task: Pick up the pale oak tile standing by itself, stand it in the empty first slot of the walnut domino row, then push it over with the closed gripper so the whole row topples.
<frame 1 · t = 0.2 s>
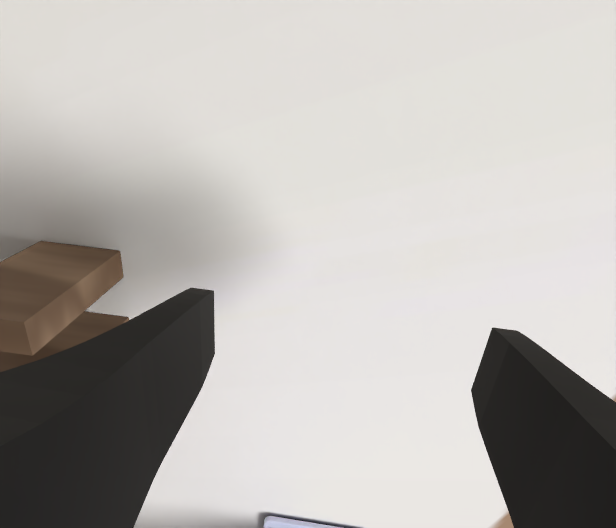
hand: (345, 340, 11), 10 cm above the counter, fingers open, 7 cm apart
tile 4: (93, 323, 24), on the counter
tile 5: (82, 259, 22), on the counter
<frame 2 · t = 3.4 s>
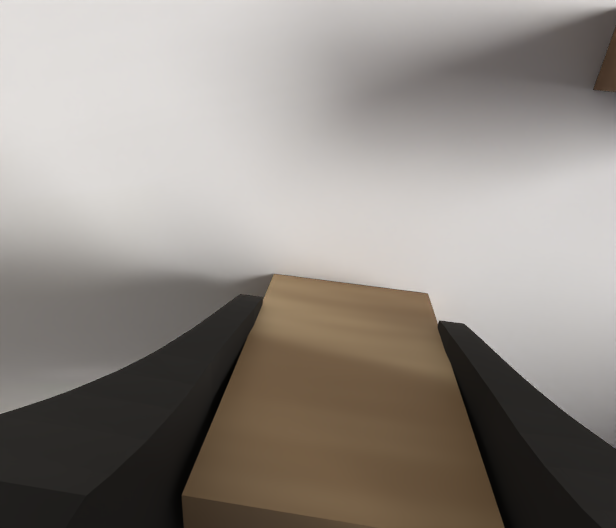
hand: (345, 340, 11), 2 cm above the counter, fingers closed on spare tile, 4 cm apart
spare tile: (346, 307, 12), on the counter, touching gripper
when the fingers open (3 cm above the counter, at t = 6.6 s): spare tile drops 1 cm, on the counter.
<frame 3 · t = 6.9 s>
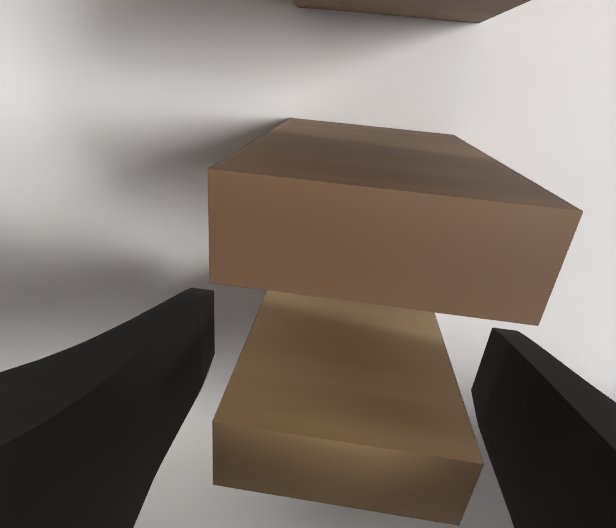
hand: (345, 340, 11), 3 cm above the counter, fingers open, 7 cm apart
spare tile: (347, 285, 13), on the counter
tile 2: (366, 155, 12), on the counter
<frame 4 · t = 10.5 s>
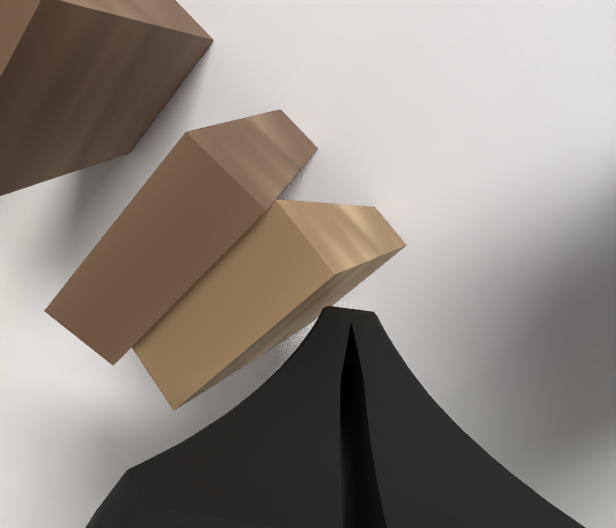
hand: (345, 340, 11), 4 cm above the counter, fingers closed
tile 3: (148, 80, 12), on the counter
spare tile: (339, 268, 14), on the counter, tilted 24°, touching tile 2
tile 2: (252, 180, 13), on the counter, touching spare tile
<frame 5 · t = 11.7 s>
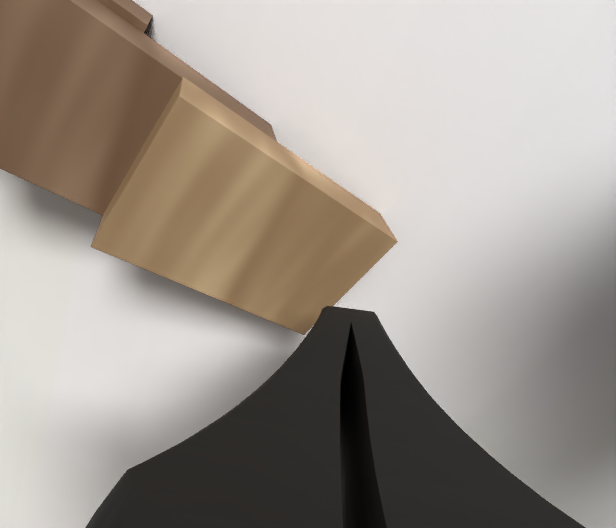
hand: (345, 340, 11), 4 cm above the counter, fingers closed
tile 3: (114, 91, 12), point 1 cm above the counter, tilted 67°, touching tile 2, tile 4
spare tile: (341, 275, 13), point 1 cm above the counter, tilted 68°, touching tile 2
tile 2: (231, 192, 13), point 1 cm above the counter, tilted 68°, touching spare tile, tile 3
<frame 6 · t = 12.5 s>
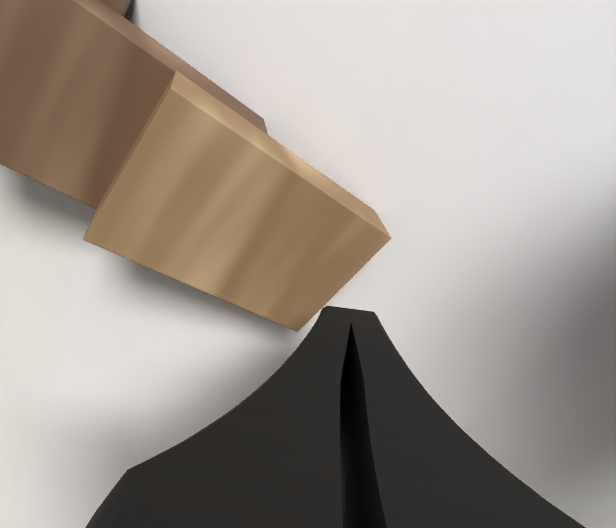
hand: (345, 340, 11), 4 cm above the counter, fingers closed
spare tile: (335, 272, 13), point 1 cm above the counter, tilted 69°, touching tile 2
tile 2: (223, 186, 13), point 1 cm above the counter, tilted 69°, touching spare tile
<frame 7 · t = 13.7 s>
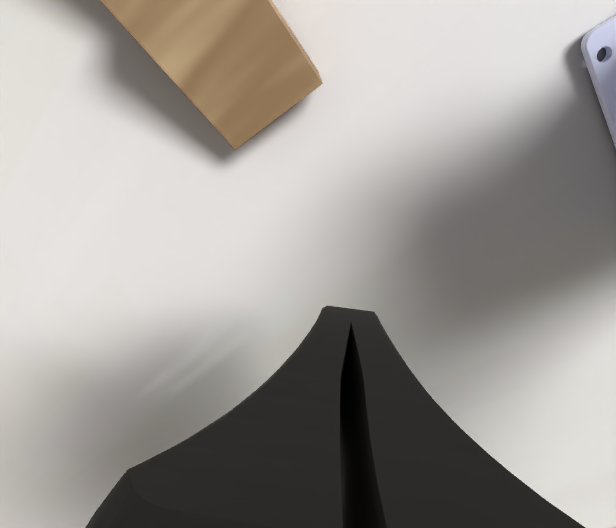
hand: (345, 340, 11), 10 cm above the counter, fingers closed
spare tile: (276, 110, 17), point 1 cm above the counter, tilted 70°, touching tile 2
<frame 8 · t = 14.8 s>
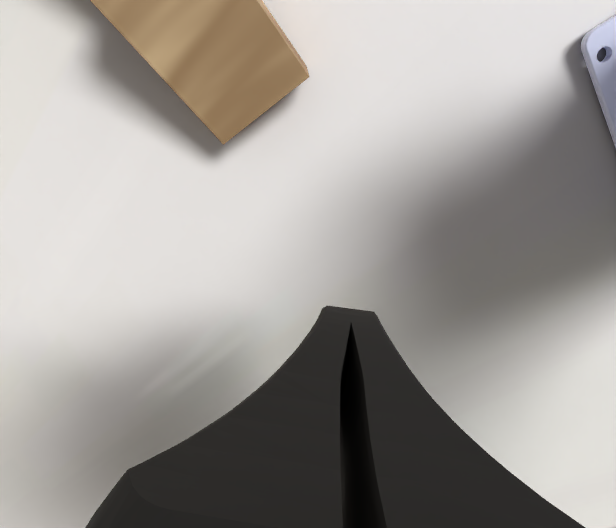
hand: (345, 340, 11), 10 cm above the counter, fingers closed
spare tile: (264, 105, 17), point 1 cm above the counter, tilted 72°, touching tile 2
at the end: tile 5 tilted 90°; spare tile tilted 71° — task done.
